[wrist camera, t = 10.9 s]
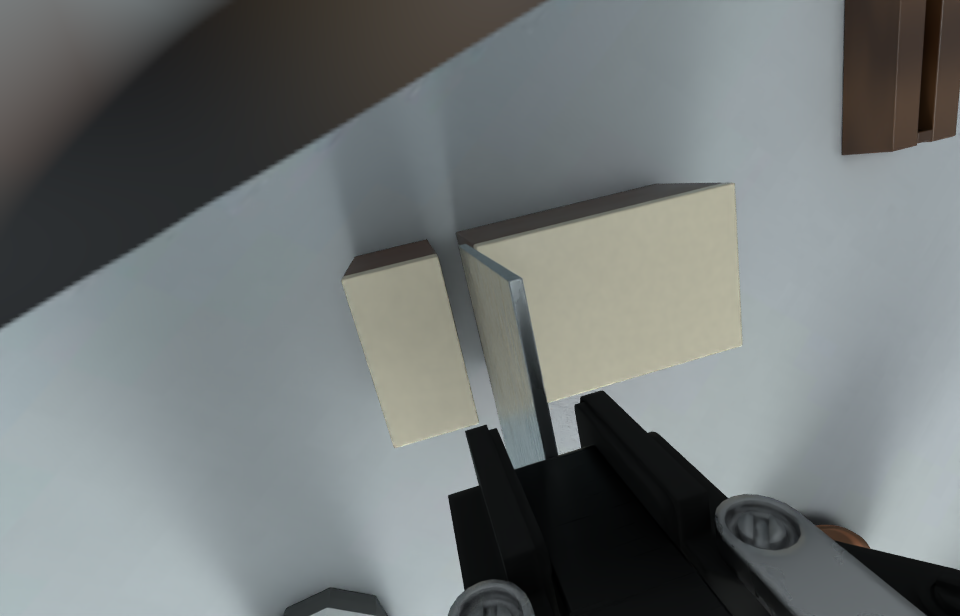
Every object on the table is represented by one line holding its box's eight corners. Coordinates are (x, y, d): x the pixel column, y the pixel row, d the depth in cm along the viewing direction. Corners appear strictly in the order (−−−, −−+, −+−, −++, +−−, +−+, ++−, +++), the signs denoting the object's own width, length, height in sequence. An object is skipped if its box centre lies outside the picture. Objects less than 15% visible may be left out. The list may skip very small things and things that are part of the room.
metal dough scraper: (434, 251, 16) (534, 382, 4) (489, 237, 16) (722, 327, 5) (494, 489, 18) (655, 966, 7) (540, 474, 19) (771, 913, 7)
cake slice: (354, 256, 24) (340, 279, 18) (427, 239, 25) (437, 255, 18) (394, 388, 26) (394, 449, 20) (460, 370, 27) (479, 424, 21)
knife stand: (846, -74, 24) (905, -109, 21) (912, -86, 25) (979, -122, 22) (841, 155, 28) (892, 151, 25) (899, 141, 28) (956, 135, 25)
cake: (455, 232, 25) (475, 246, 19) (656, 183, 26) (735, 182, 20) (486, 363, 27) (512, 414, 21) (668, 312, 28) (743, 345, 22)
